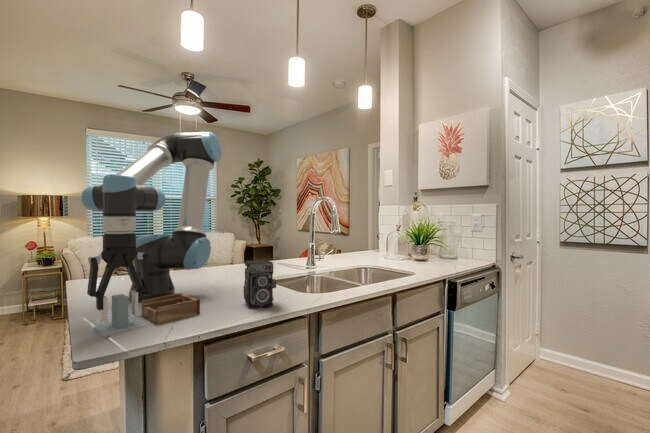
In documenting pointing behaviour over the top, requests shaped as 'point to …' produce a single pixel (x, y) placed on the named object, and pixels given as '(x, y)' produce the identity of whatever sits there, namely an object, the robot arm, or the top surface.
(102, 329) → the lid plate
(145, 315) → the walnut box
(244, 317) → the top surface
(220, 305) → the top surface
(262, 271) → the camera
